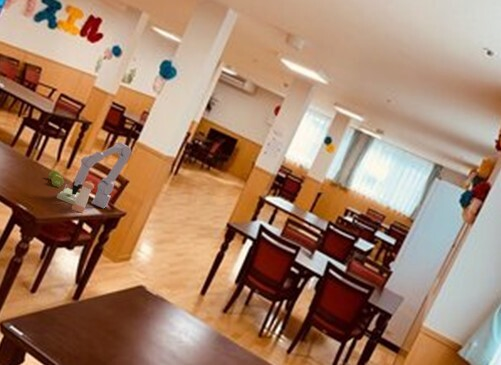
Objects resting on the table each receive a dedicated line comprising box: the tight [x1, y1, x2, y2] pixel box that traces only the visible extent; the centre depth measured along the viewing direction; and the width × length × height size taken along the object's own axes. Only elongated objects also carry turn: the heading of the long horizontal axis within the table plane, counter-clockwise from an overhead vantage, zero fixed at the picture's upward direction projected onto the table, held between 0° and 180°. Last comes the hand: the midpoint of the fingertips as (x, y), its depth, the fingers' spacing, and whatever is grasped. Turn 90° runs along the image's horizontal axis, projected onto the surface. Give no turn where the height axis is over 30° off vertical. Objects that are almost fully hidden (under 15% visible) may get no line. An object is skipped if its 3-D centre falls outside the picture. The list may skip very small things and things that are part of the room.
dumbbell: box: [48, 169, 64, 188], centre depth 345 cm, size 16×8×7 cm, turn 30°
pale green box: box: [56, 183, 80, 205], centre depth 328 cm, size 14×24×10 cm, turn 8°
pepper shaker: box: [71, 180, 95, 213], centre depth 310 cm, size 7×7×19 cm
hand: (73, 194), depth 327 cm, fingers closed
